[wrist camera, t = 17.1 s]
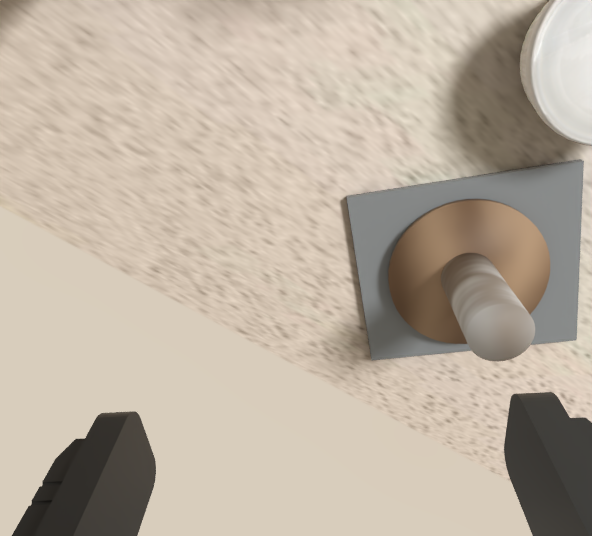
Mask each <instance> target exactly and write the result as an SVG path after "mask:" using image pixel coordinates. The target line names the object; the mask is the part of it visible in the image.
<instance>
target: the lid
mask: <svg viewBox="0 0 592 536" xmlns="http://www.w3.org/2000/svg"><path fill="white" fill-rule="evenodd" d="M549 276H550V255H549V251H548V247H547V244H546V242H545V240H544V238H543V236H542V234H541V233H540V231H539V230H538V228H537V227H536V226H535V225H534V224H533V223H532V222H531V221H530V220H529V219H528V218H527V217H526V216H524V215H523V214H522V213H521V212H519V211H518V210H516V209H514V208H512V207H510V206H508V205H506V204H503V203H500V202H497V201H492V200H487V199H464V200H457V201H453V202H450V203H446V204H443V205H441V206H438V207H436V208H434V209H432V210H430V211H429V212H427V213H425V214H424V215H422V216H421V217H420V218H418V219H417V220H416V221H415V222H414V223H412V224H411V225H410V226H409V227H408V229H407V230H406V231H405V232H404V233H403V234H402V236H401V237H400V239H399V241H398V242H397V244H396V246H395V248H394V250H393V253H392V256H391V259H390V263H389V269H388V282H389V289H390V293H391V297H392V300H393V303H394V305H395V307H396V309H397V311H398V312H399V314H400V315H401V317H402V318H403V319H404V320H405V321H406V322H407V323H408V324H409V325H410V326H411V327H412V328H413V329H415V330H416V331H418V332H419V333H421V334H423V335H425V336H427V337H429V338H432V339H434V340H437V341H441V342H446V343H453V344H468V345H469V347H470V349H471V350H472V351H473V352H474V353H475V354H476V355H477V356H479V357H481V358H483V359H485V360H489V361H505V360H509V359H512V358H514V357H517V356H518V355H520V354H521V353H523V352H524V351H525V350H526V349H527V348H528V347H529V346H530V344H531V343H532V341H533V339H534V336H535V324H534V321H533V319H532V317H531V316H530V314H531V313H532V312H533V310H534V309H535V308H536V307H537V305H538V304H539V302H540V300H541V299H542V297H543V295H544V293H545V291H546V288H547V284H548V281H549Z"/></svg>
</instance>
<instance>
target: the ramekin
mask: <svg viewBox="0 0 592 536" xmlns="http://www.w3.org/2000/svg"><path fill="white" fill-rule="evenodd" d="M520 75H521V82H522V85H523V87H524V91H525V93H526V95H527V98H528V100H529V101H530V102H531V103H532V106H533V107H534V108H535V110H536V112H537V113H538V115H539V116H540V118H541V119H542V120H543V121H544V122H545V123H546V125H548V126H549V127H550V128H551V129H552V130H553V131H555V132H556V133H558V134H559V135H561V136H563V137H564V138H566V139H569V140H571V141H574V142H577V143H580V144H584V145H588V146H592V0H549V2H548V3H547V4H546V5H544V7H543V8H542V10H541V11H540V13H539V14H537V16H536V18H535V20H534V21H533V23H532V24H531V26H530V28H529V30H528V32H527V33H526V36H525V40H524V42H523V44H522V51H521V54H520Z"/></svg>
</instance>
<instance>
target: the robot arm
mask: <svg viewBox="0 0 592 536" xmlns="http://www.w3.org/2000/svg"><path fill="white" fill-rule="evenodd" d="M504 453H505V461H506V466H507V470H508V474H509V476H510V479H511V482H512V484H513V487H514V489H515V492H516V494H517V497H518V499H519V502H520V504H521V507H522V509H523V512H524V514H525V517H526V519H527V522H528V524H529V527H530V530H531V532H532V534H533V536H592V423H591V422H590V421H589V420H588V419H586V418H570V417H569V416H568V414H567V412H566V411H565V409H564V407H563V405H562V404H561V402H560V400H559V399H558V397H557V396H556V395H555V394H554V393H552V392H546V393H526V394H513V395H512V397H511V401H510V408H509V415H508V422H507V429H506V437H505V444H504ZM155 474H156V465H155V458H154V455H153V452H152V450H151V447H150V444H149V441H148V438H147V436H146V433H145V430H144V427H143V424H142V421H141V419H140V416H139V415H138V413H137V412H116V413H102V414H100V415H98V417H97V418H96V420H95V421H94V423H93V425H92V427H91V429H90V431H89V432H88V434H87V436H86V438H85V439H76V440H74V441H73V442H72V443H71V444H70V445H69V447H67V448H66V449H65V450H64V451H63V452H62V453H61V454H60V455H59V456H58V457H57V458H56V459H55V461H54V463H53V464H52V466H51V468H50V470H49V471H48V473H47V475H46V477H45V479H44V480H43V485H42V487H39V489H38V491H37V492H36V494H35V496H34V498H33V499H32V505H31V506H29V507H28V509H27V510H26V512H25V514H24V515H23V517H22V519H21V521H20V522H19V524H18V526H17V528H16V529H15V531H14V533H13V535H12V536H137V535H138V532H139V529H140V526H141V523H142V520H143V517H144V514H145V511H146V508H147V505H148V502H149V499H150V496H151V493H152V490H153V487H154V483H155Z"/></svg>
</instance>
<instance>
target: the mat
mask: <svg viewBox="0 0 592 536" xmlns="http://www.w3.org/2000/svg"><path fill="white" fill-rule="evenodd" d="M583 165H584V161H582V160H574V161H567V162H561V163H554V164H548V165H542V166H535V167H529V168H522V169H516V170H510V171H503V172H497V173H491V174H484V175H478V176H471V177H465V178H459V179H452V180H446V181H439V182H433V183H427V184H420V185H414V186H407V187H401V188H395V189H388V190H382V191H376V192H369V193H363V194H356V195H350V196H347V204H348V210H349V216H350V223H351V229H352V236H353V242H354V249H355V255H356V262H357V268H358V275H359V281H360V288H361V294H362V301H363V307H364V314H365V320H366V327H367V333H368V340H369V346H370V353H371V359H372V360H380V359H391V358H401V357H411V356H421V355H431V354H441V353H451V352H461V351H471V349H470V347H469V345H468V344H453V343H446V342H441V341H437V340H434V339H432V338H429V337H427V336H425V335H423V334H421V333H419V332H418V331H416V330H415V329H413V328H412V327H411V326H410V325H409V324H408V323H407V322H406V321H405V320H404V319H403V318H402V317H401V315H400V314H399V312H398V311H397V309H396V307H395V305H394V303H393V300H392V297H391V293H390V289H389V282H388V269H389V263H390V259H391V256H392V253H393V250H394V248H395V246H396V244H397V242H398V241H399V239H400V237H401V236H402V234H403V233H404V232H405V231H406V230H407V229H408V227H409V226H410V225H411V224H412V223H414V222H415V221H416V220H417V219H418V218H420V217H421V216H422V215H424V214H425V213H427V212H429V211H430V210H432V209H434V208H436V207H438V206H441V205H443V204H446V203H450V202H453V201H457V200H464V199H487V200H492V201H497V202H500V203H503V204H506V205H508V206H510V207H512V208H514V209H516V210H518V211H519V212H521V213H522V214H523V215H524V216H526V217H527V218H528V219H529V220H530V221H531V222H532V223H533V224H534V225H535V226H536V227H537V228H538V230H539V231H540V233H541V234H542V236H543V238H544V240H545V242H546V244H547V247H548V251H549V255H550V276H549V281H548V284H547V288H546V291H545V293H544V295H543V297H542V299H541V300H540V302H539V304H538V305H537V307H536V308H535V309H534V310H533V312H532V313H531V314H530V316H531V317H532V319H533V321H534V324H535V336H534V339H533V341H532V343H531V344H530V345H532V344H542V343H552V342H562V341H573V340H576V338H577V313H578V288H579V263H580V239H581V214H582V189H583Z"/></svg>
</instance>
